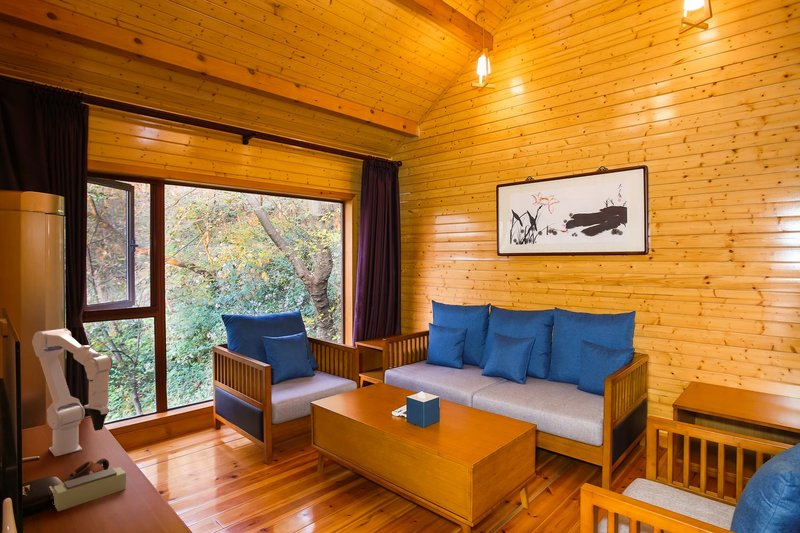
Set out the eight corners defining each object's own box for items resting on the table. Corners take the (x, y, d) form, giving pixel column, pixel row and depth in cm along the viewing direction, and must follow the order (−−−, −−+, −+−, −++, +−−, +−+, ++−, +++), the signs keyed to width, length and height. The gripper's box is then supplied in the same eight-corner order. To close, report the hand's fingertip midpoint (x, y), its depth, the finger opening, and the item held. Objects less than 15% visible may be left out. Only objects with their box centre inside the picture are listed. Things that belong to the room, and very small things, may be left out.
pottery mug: (97, 495, 132) (81, 474, 130) (73, 506, 134) (55, 485, 132) (123, 467, 144) (108, 447, 142) (100, 477, 145) (85, 457, 143)
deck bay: (48, 496, 130) (49, 477, 130) (114, 476, 143) (114, 459, 142) (58, 511, 123) (58, 491, 123) (125, 489, 135) (125, 470, 135)
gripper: (79, 388, 157) (78, 427, 157) (91, 397, 147) (90, 438, 148) (102, 384, 162) (102, 421, 162) (115, 393, 153) (115, 432, 153)
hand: (98, 429), depth 155 cm, fingers closed
